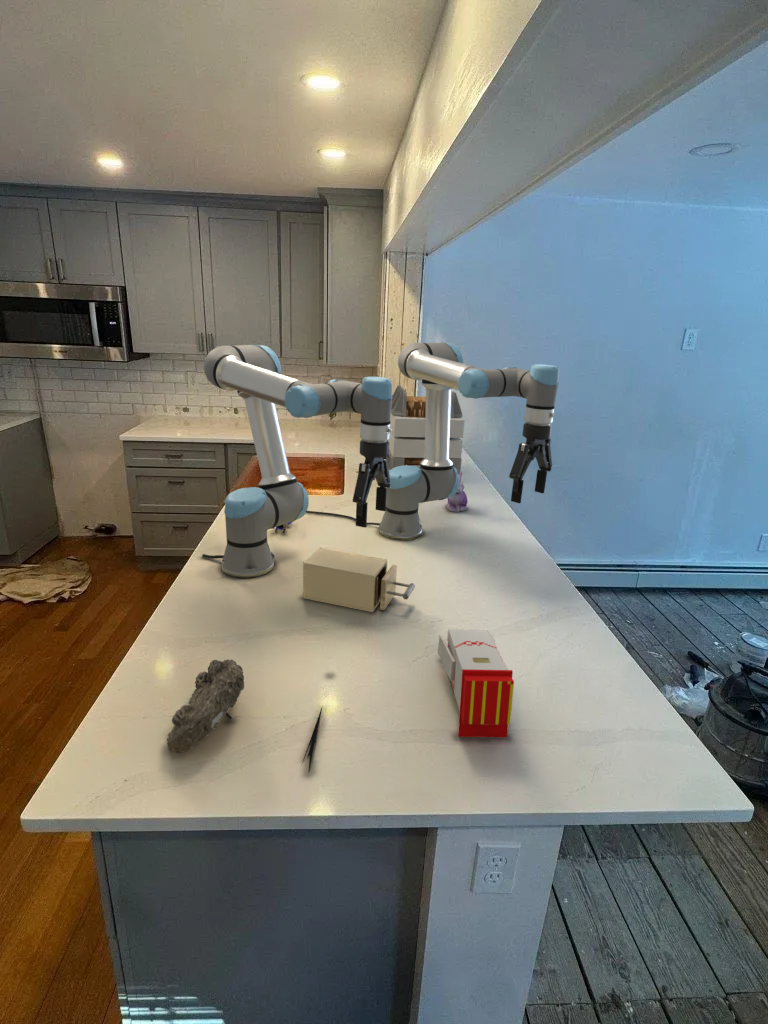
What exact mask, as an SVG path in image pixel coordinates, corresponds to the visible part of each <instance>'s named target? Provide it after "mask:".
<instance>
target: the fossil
mask: <svg viewBox="0 0 768 1024" xmlns="http://www.w3.org/2000/svg"><path fill="white" fill-rule="evenodd" d="M243 670H244V669H243V667H242V665H240V664H237V662H236V661H235V660H234V659H232V658H231V659H227V658H226V659H224V660H223V661H222V660H217V659H212V660H211V661H210V663H209V665H208V666H207V671H201V672H199V673H198V674H197V675H196V676H195V680H194V684H195V685H194V687H195V689H194V690H193V693H192V694H191V697H190V698H189V700H188V704H184V705H182V706H181V707H180V709H177V710H176V711H175V713H174V715H173V716H172V718H171V723H172V724H173V727H172V730H171V731H170V732H168V734H167V738H166V741H167V742H166V745H167V749H168V750H169V751H173V752H174V753H176V754H178V753H182V752H188V751H189V752H192V751H193V750H195V748H196V747H197V746H199V744H200V743H201V742H203V741H204V740H205V739H206V738H207V737H208V736H209V735H210V734H211V733H212V732H214V730H215V729H217V727H218V726H219V724H220V722H221V721H222V720H223V719H224V718H225V716H226V717H227V719H229V720H233V717H232V715H230V714H229V710H230V709H231V708H234V706H235V704H236V703H237V702H238V699H239V697H240V695H241V693H242V691H243V690H245V689H244V688H245V675H244V671H243Z"/></svg>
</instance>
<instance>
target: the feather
mask: <svg viewBox="0 0 768 1024" xmlns="http://www.w3.org/2000/svg"><path fill="white" fill-rule="evenodd" d="M329 675H330V676H331V675H332V674H331V673H330V674H329ZM322 710H323V707H321V708H320V710H319V713H318V716H317V719H316V723H315V725H314V728H313V731H312V733H311V737H310V739H309V742H308V745H307V748H306V751H305V754H304V757H303V760H302V763H301V767H302V765H303V763H304V761H305V758H308V759H309V760H308V762H307V763H308V764H307V766H308V771H310V770H311V766H312V765H311V764H312V760H313V757H315V756H314V755H315V751H316V749H315V746H317V739H318V733H319V729H320V722H321V717H322V712H323V711H322ZM313 754H314V755H313ZM306 755H307V757H306Z"/></svg>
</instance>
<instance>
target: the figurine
mask: <svg viewBox="0 0 768 1024" xmlns="http://www.w3.org/2000/svg"><path fill="white" fill-rule="evenodd" d="M464 489H465V485H464V482H463V471H461V472H460V473H459V486H458V489H457V491H456V493H455V494H454V495H453V496H452V497H450V498H447V504H446V508H447V509H448V510H449V511H450V512H463V511H465V510H466V509H467V506H468V496H467V494H466V492H465V491H464Z"/></svg>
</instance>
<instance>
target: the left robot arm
mask: <svg viewBox="0 0 768 1024" xmlns="http://www.w3.org/2000/svg"><path fill="white" fill-rule="evenodd" d="M203 371H204V375H205V377H206V379H207V380H208V382H210V384H211V385H213V386H214V387H216V388H219V389H222V390H225V391H227V392H233V391H236V393H237V395H238V396H239V397H240V398H242V399H243V400H244V404H245V408H246V412H247V413H246V414H247V417H248V421H249V426H250V431H251V436H252V440H253V444H254V448H255V453H256V457H257V462H258V466H259V469H260V470H259V471H260V476H261V479H260V481H259V483H258V484H257V486H258V487H256V486H252V487H251V486H249V487H242V488H238V489H235V490H233V491H231V492H230V493H229V494H228V495H227V496H226V498H225V500H224V510H223V513H224V517H225V519H224V520H225V535H226V536H225V537H226V545H225V549H224V553H223V554H216V555H215V554H214V555H210V554H206V553H205V554H204V553H202V554H201V556H202V558H205V559H210V560H214V559H216V560H217V559H221V571H222V572H223V573H224V574H226V575H227V576H230V577H233V578H234V577H235V578H244V579H245V578H256V577H260V576H264V575H266V574H268V573H270V572H272V571H273V569H274V567H275V555H274V553H273V552H272V551H271V548H270V546H269V543H268V530H271V528H274V527H275V528H276V527H277V526H280V525H283V524H286V523H291V522H292V523H294V522H295V521H297V520H300V519H302V518H303V517H304V516H305V515H306V513H305V512H306V511H308V508H309V501H310V499H309V494H308V491H307V489H306V488H305V487H304V485H303V483H300V482H298V480H297V476H295V475H294V474H293V473H291V470H290V466H289V461H288V457H287V453H286V448H285V443H284V439H283V435H282V430H281V425H280V422H279V421H280V420H279V416H278V411H277V406H280V407H283V408H285V409H286V411H287V412H288V413H289V414H290V415H291V416H292V417H293V418H295V419H296V418H297V419H300V418H305V419H308V418H313V417H317V416H322V415H328V414H329V415H330V414H337V413H342V412H349V413H355V414H360V426H359V438H360V441H359V455H361V456H363V457H364V458H365V459H364V463H363V462H360V463H359V464H358V473H357V478H356V481H355V487H354V492H353V496H352V503H356V504H355V505H356V509H355V519H356V521H355V527H360V528H367V527H368V525H367V523H368V505H369V504H368V502H367V499H368V497H369V494H370V491H371V487H372V484H373V481H376V483H377V486H376V488H375V511H379V512H385V511H386V493H387V488H390V484H388V483H390V475H389V471H390V467H388V461H387V458H388V455H389V441H388V439H389V438H390V432H392V429H390V421H391V420H390V416H391V406H392V398H393V381H392V380H391V379H390V378H388V377H383V376H365V377H363V378H362V380H361V382H356V381H355V382H354V381H349V380H346V379H330V380H329V381H328V382H323V383H310V382H306V381H303V380H300V379H297V378H294V377H291V376H287V375H285V374H282V366H281V362H280V359H279V357H278V355H277V354H276V352H275V351H274V350H273V349H271V348H270V347H269V346H267V345H264V344H241V345H240V344H238V345H237V344H236V345H221V346H217V347H215V348H214V349H212V350H210V351H209V352H208V354H207V355H206V357H205V359H204V362H203ZM386 487H387V488H386ZM292 523H291V524H292ZM275 528H274V529H275Z"/></svg>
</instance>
